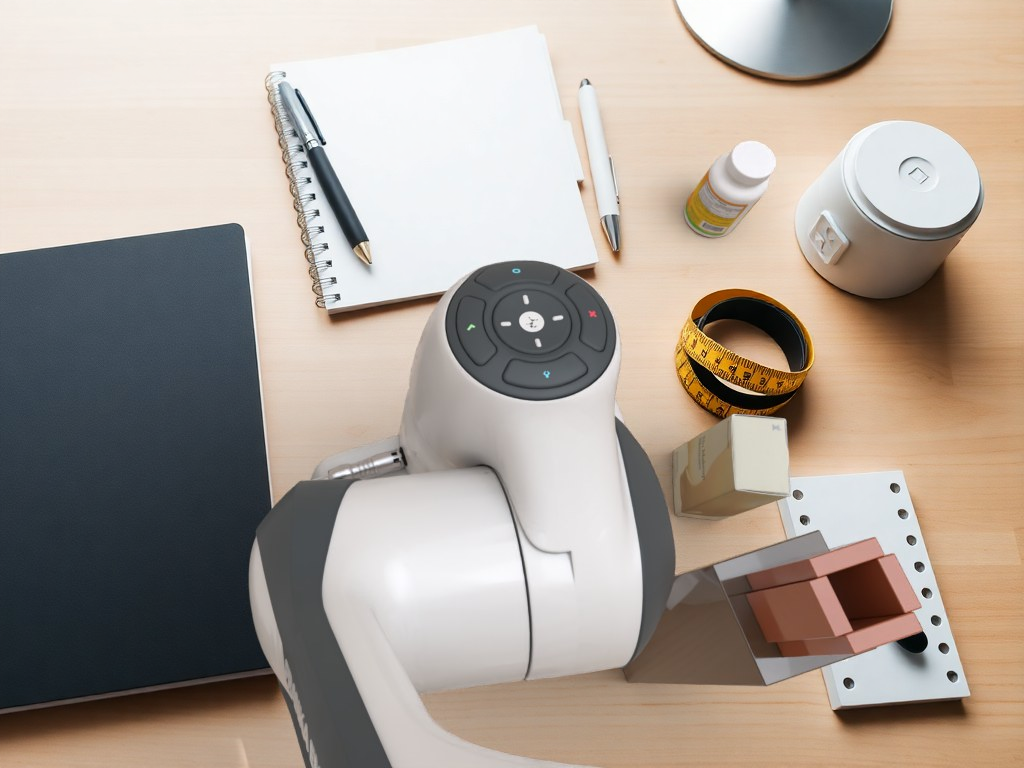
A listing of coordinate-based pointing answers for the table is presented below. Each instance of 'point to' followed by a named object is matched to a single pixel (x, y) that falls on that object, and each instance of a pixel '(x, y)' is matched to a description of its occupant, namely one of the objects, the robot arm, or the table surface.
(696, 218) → the supplement bottle
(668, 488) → the table surface
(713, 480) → the cosmetic box
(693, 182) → the table surface
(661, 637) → the holder
